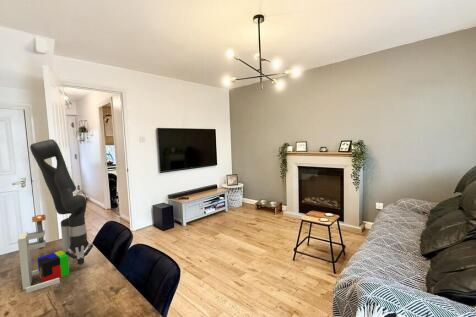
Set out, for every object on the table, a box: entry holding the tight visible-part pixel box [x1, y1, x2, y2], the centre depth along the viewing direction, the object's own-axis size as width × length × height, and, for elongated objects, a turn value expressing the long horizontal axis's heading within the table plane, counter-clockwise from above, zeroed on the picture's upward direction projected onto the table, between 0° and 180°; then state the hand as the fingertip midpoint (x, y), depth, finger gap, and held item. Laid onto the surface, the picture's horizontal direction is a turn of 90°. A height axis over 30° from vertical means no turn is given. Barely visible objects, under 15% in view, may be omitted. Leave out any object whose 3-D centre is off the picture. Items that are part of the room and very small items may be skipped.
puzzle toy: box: [37, 249, 70, 283], centre depth 117 cm, size 10×10×10 cm
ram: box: [31, 214, 47, 250], centre depth 113 cm, size 5×5×16 cm
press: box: [17, 229, 61, 294], centre depth 113 cm, size 14×18×24 cm
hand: (81, 264), depth 123 cm, fingers closed
